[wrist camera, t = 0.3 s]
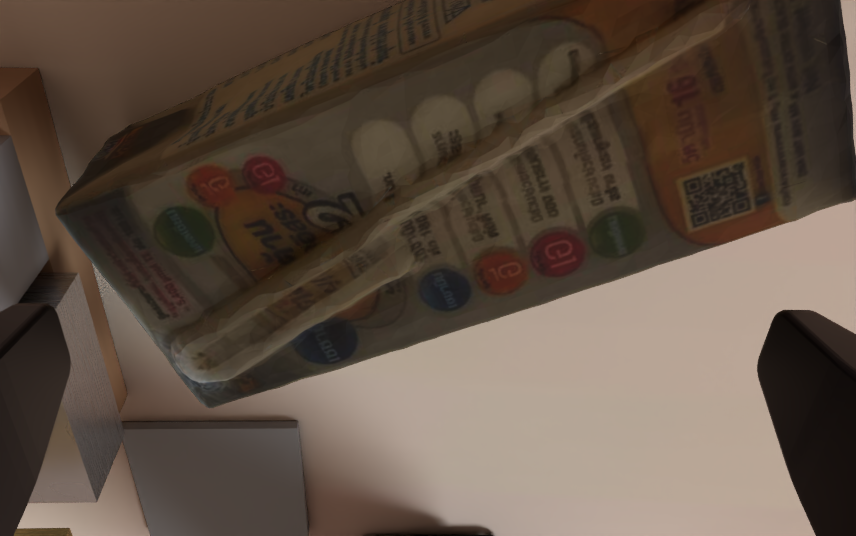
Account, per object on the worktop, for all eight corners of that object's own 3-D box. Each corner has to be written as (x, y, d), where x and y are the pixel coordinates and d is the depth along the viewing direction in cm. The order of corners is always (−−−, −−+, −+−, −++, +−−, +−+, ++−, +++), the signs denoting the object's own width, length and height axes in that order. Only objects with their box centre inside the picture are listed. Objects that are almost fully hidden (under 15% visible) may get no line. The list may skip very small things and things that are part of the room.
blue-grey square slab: (309, 529, 34) (308, 537, 34) (153, 531, 34) (151, 539, 33) (298, 421, 30) (296, 428, 30) (122, 422, 30) (119, 429, 29)
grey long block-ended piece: (109, 111, 23) (16, 220, 17) (737, -162, 19) (873, -135, 14) (241, 303, 27) (201, 439, 21) (776, 108, 23) (892, 211, 18)
